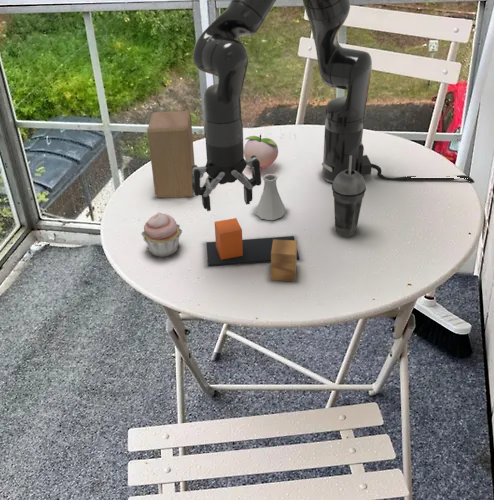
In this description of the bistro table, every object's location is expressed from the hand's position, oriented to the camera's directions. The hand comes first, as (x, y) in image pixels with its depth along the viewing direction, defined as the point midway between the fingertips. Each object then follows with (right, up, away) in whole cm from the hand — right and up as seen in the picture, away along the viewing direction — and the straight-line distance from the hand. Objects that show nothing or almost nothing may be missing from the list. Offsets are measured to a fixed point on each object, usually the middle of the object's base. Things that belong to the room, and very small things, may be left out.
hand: (227, 205), depth 140 cm
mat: (+6, -10, +7) cm, 14 cm away
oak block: (+12, -14, 0) cm, 19 cm away
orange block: (+1, -10, +7) cm, 12 cm away
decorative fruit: (+12, +12, +37) cm, 41 cm away
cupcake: (-14, -9, +11) cm, 20 cm away
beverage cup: (+28, -5, +11) cm, 30 cm away
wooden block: (-11, +7, +33) cm, 35 cm away
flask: (+12, -1, +19) cm, 23 cm away
